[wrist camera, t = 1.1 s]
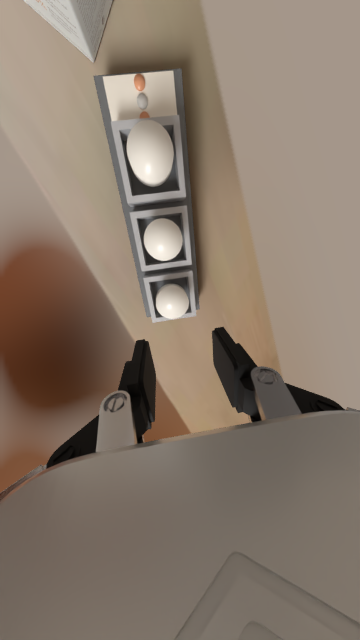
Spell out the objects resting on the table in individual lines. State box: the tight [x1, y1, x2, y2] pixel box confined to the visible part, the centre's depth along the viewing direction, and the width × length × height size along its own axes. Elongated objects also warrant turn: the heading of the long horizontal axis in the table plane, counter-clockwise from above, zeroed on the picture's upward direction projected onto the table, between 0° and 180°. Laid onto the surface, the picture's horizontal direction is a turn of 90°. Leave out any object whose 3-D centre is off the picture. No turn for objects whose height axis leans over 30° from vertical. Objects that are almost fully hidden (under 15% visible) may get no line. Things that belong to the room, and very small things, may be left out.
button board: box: [94, 69, 199, 323], centre depth 21 cm, size 24×8×5 cm, turn 7°
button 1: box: [156, 284, 189, 319], centre depth 22 cm, size 4×4×2 cm
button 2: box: [127, 120, 174, 187], centre depth 16 cm, size 4×4×2 cm
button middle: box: [144, 218, 183, 261], centre depth 19 cm, size 4×4×2 cm
